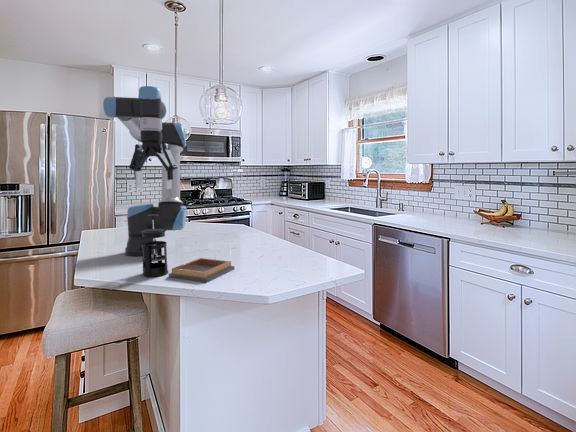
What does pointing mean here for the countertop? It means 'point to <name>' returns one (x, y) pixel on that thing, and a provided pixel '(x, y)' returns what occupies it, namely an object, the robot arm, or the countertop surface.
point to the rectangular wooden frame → (201, 270)
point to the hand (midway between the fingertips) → (153, 188)
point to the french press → (148, 258)
